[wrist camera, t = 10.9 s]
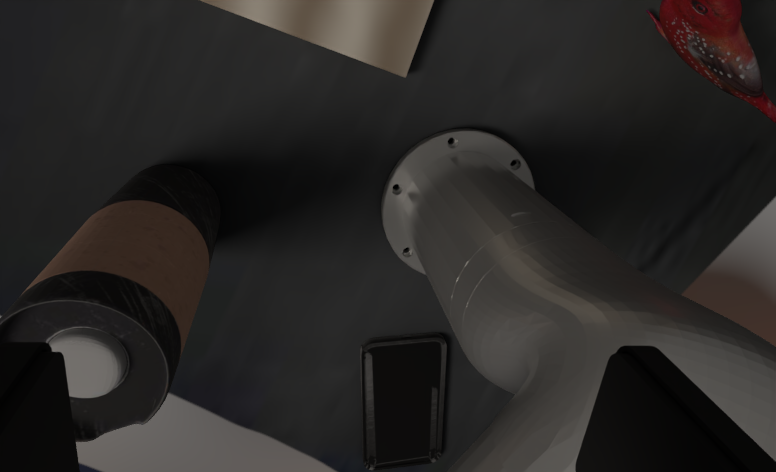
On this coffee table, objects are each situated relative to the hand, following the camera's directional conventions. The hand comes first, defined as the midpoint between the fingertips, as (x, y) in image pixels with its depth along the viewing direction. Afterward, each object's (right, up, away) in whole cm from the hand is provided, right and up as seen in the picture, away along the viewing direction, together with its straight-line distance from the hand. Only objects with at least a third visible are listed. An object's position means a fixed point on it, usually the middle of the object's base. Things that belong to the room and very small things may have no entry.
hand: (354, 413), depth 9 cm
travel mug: (-16, +5, +32) cm, 36 cm away
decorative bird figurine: (+23, +17, +33) cm, 44 cm away
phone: (+2, -12, +43) cm, 45 cm away
